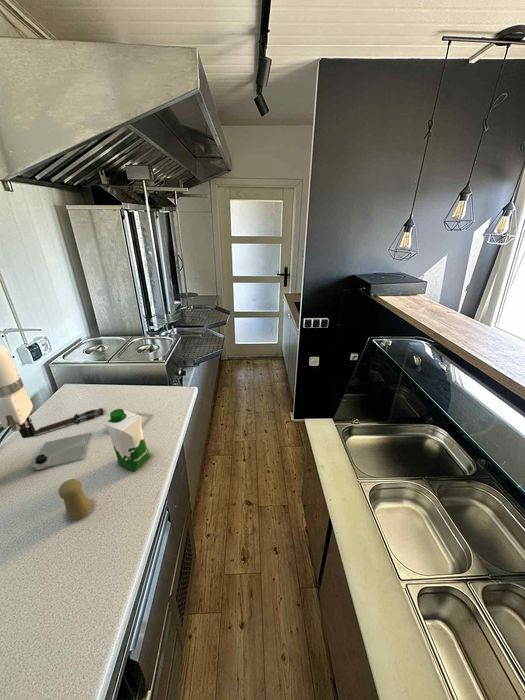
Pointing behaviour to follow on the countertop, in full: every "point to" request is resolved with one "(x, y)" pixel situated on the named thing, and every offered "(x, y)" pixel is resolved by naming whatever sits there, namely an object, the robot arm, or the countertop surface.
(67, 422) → the knife
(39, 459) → the power button
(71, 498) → the cork
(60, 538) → the countertop surface
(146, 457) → the milk carton
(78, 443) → the scale
